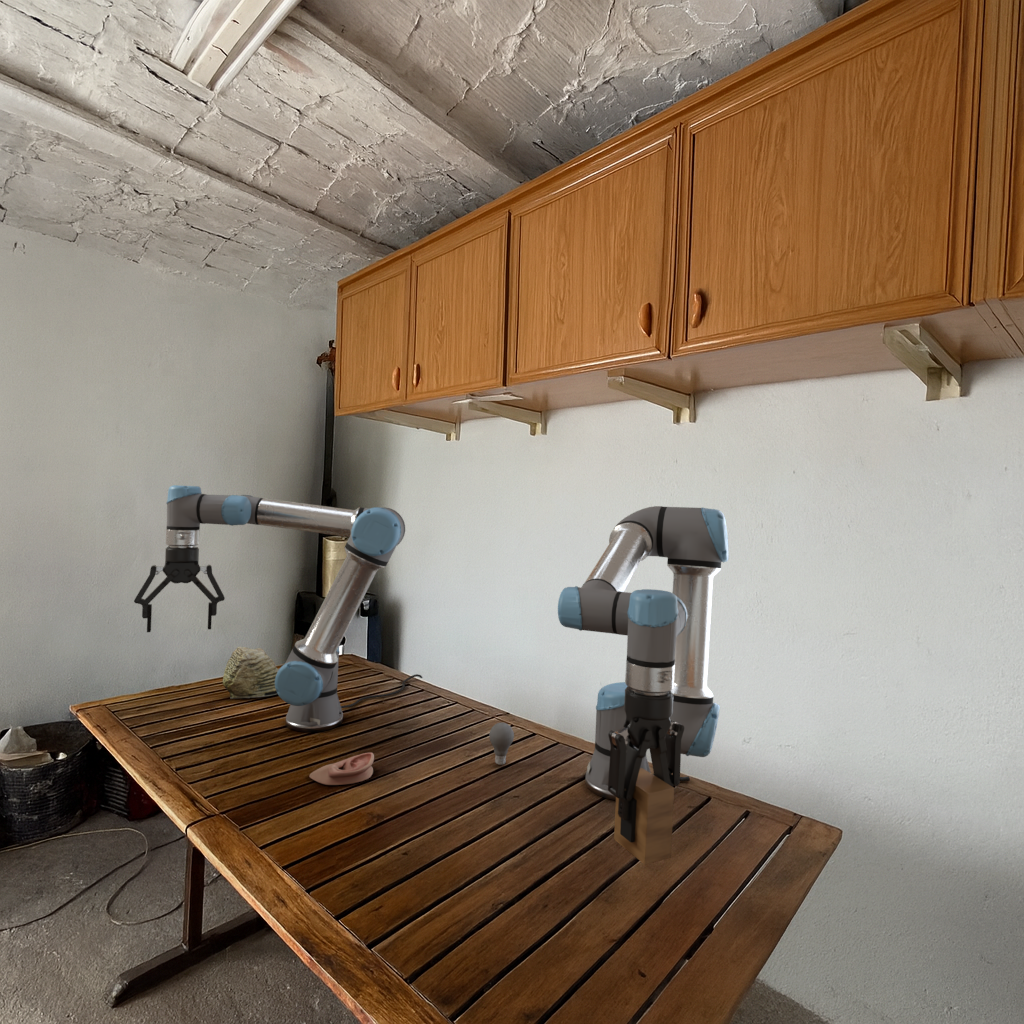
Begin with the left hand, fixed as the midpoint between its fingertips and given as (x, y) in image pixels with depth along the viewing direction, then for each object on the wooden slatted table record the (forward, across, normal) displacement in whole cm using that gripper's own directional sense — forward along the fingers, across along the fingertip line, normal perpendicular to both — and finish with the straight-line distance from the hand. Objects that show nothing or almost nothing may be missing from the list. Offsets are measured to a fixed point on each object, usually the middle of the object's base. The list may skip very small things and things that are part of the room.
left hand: (179, 629), depth 161 cm
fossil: (+28, +21, +31) cm, 46 cm away
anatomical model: (+28, +34, -36) cm, 57 cm away
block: (+18, +67, -102) cm, 123 cm away
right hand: (+15, +67, -102) cm, 123 cm away
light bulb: (+28, +71, -44) cm, 88 cm away
